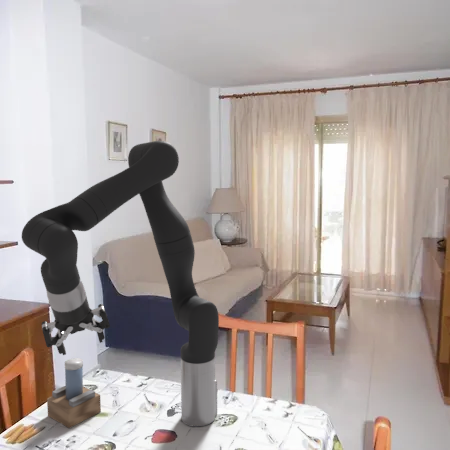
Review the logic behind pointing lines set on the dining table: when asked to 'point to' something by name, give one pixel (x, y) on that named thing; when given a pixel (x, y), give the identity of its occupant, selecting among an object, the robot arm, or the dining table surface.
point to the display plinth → (70, 412)
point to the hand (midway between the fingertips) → (82, 346)
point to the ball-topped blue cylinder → (73, 377)
